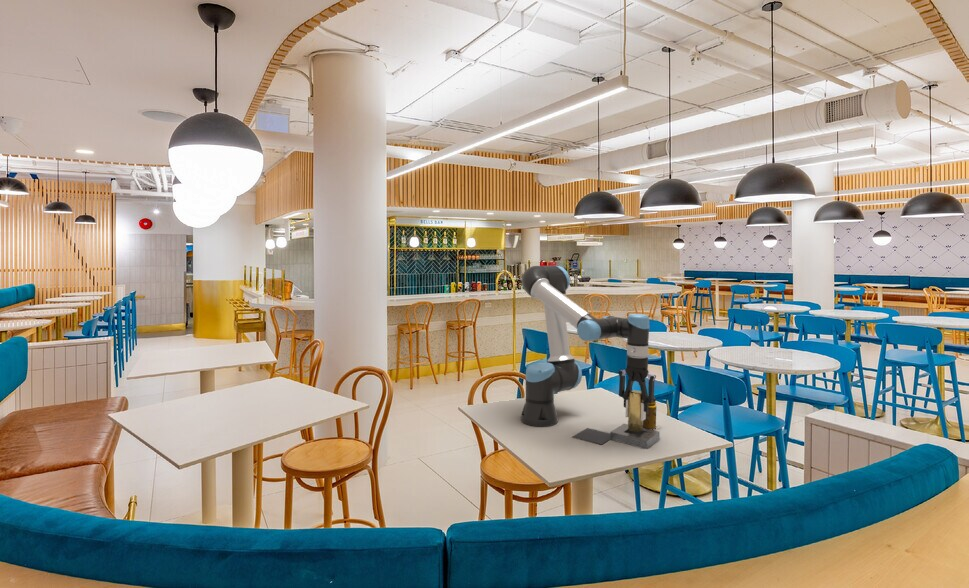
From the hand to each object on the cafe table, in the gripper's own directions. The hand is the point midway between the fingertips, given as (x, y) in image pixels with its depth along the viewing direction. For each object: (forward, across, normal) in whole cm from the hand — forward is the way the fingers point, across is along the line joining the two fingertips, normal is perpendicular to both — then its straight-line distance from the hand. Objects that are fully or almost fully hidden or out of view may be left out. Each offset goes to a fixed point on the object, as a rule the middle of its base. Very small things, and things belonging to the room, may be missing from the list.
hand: (635, 417), depth 184 cm
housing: (+8, 0, 0) cm, 8 cm away
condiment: (+9, -2, +16) cm, 18 cm away
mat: (+8, -13, -7) cm, 17 cm away
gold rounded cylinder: (+4, 0, 0) cm, 4 cm away
